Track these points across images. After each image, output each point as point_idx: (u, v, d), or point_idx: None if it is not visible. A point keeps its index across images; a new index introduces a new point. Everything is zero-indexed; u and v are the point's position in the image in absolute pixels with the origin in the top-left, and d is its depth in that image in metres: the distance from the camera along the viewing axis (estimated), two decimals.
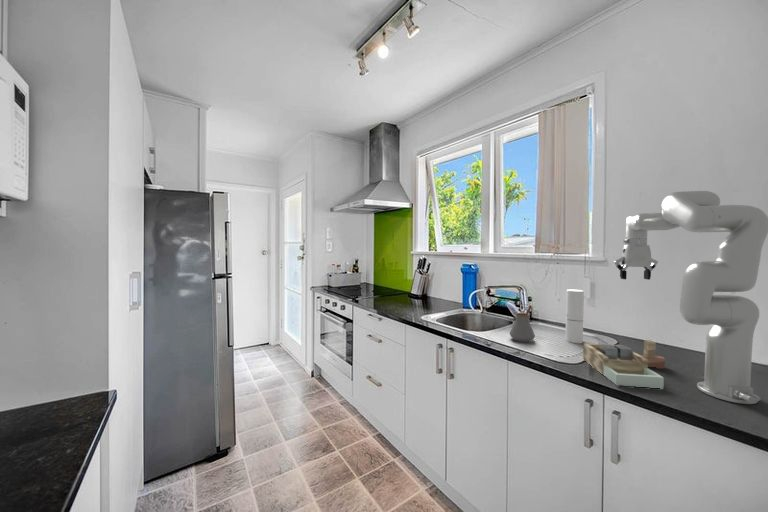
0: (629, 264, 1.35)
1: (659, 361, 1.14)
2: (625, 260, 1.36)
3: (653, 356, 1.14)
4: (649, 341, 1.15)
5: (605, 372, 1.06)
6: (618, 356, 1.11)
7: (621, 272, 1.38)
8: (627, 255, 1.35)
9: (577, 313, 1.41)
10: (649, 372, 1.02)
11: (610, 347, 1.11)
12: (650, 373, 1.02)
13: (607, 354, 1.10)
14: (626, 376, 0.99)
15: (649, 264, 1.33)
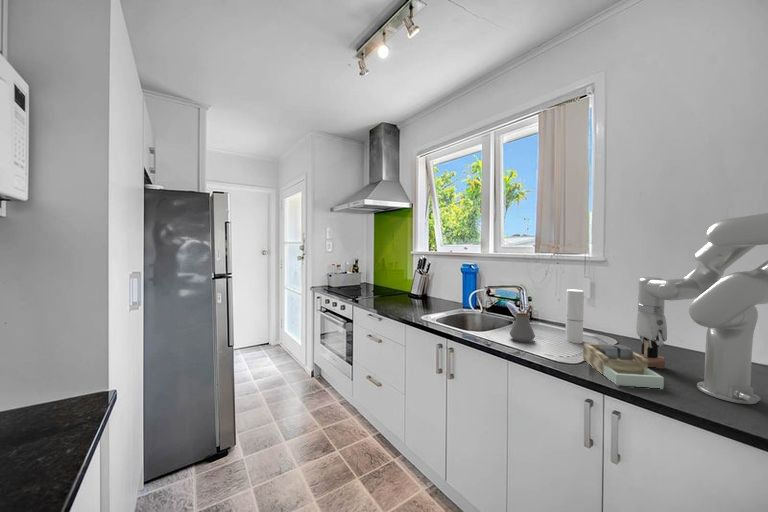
0: None
1: (659, 361, 1.14)
2: (663, 339, 1.10)
3: None
4: None
5: (605, 372, 1.06)
6: (618, 356, 1.11)
7: (654, 350, 1.13)
8: (666, 328, 1.10)
9: (577, 313, 1.41)
10: (649, 372, 1.02)
11: (610, 347, 1.11)
12: (650, 373, 1.02)
13: (607, 354, 1.10)
14: (626, 376, 0.99)
15: None
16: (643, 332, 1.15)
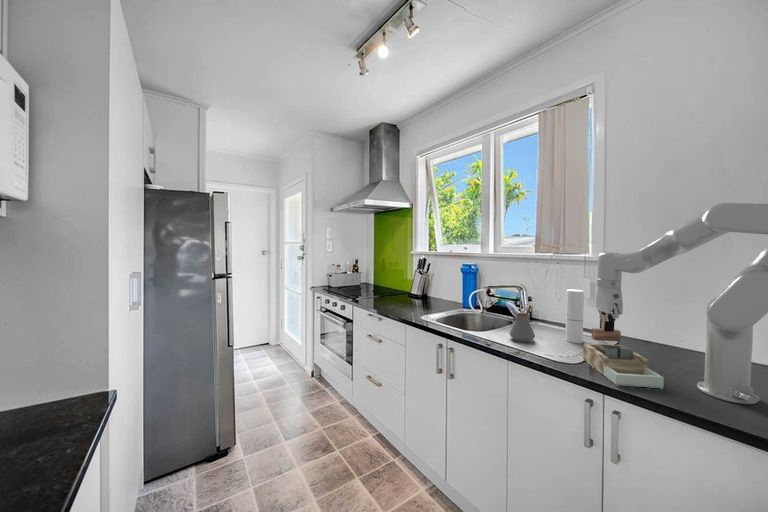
0: None
1: (615, 334, 1.16)
2: (618, 312, 1.12)
3: None
4: None
5: (605, 372, 1.06)
6: (618, 356, 1.11)
7: (611, 324, 1.14)
8: (622, 301, 1.11)
9: (577, 313, 1.41)
10: (649, 372, 1.02)
11: (610, 347, 1.11)
12: (650, 373, 1.02)
13: (607, 354, 1.10)
14: (626, 376, 0.99)
15: None
16: (601, 306, 1.17)
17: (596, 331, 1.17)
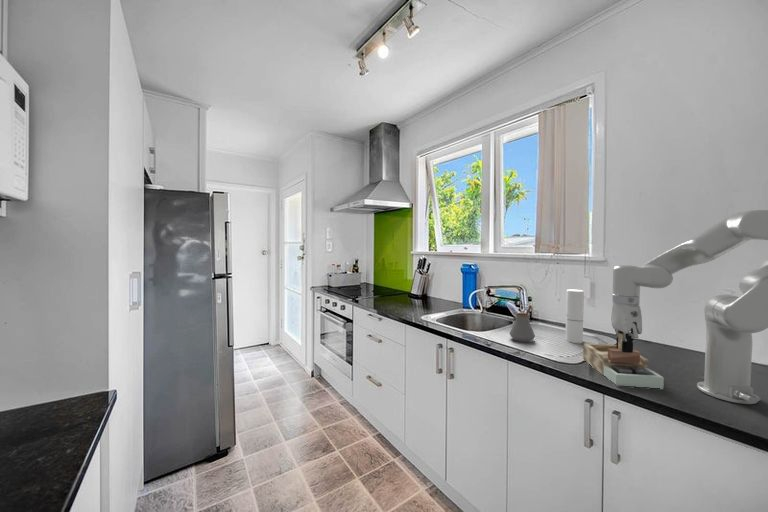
0: None
1: (634, 356, 1.05)
2: (638, 331, 1.02)
3: None
4: None
5: (605, 372, 1.06)
6: None
7: (629, 344, 1.04)
8: (641, 320, 1.01)
9: (577, 313, 1.41)
10: None
11: None
12: (650, 373, 1.02)
13: None
14: (626, 376, 0.99)
15: None
16: (618, 325, 1.07)
17: (613, 352, 1.06)
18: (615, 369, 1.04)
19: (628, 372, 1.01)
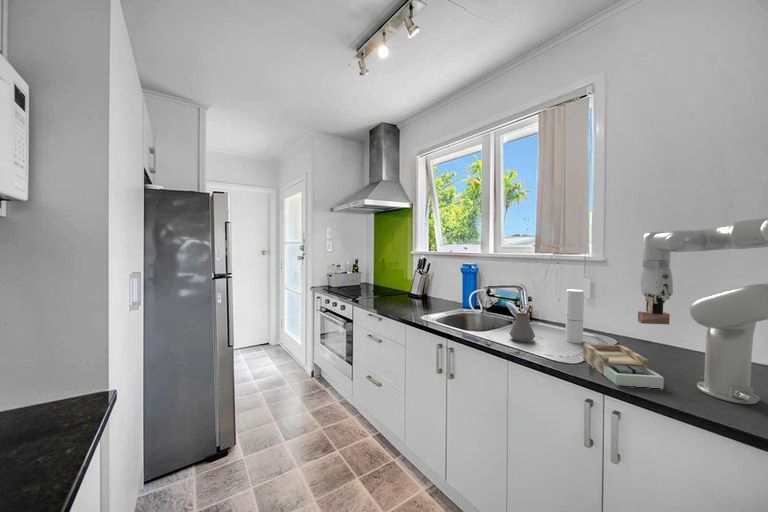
0: None
1: (663, 317, 1.11)
2: (668, 293, 1.08)
3: None
4: (653, 297, 1.12)
5: (605, 372, 1.06)
6: None
7: (660, 306, 1.10)
8: (672, 282, 1.07)
9: (577, 313, 1.41)
10: None
11: None
12: (650, 373, 1.02)
13: None
14: (626, 376, 0.99)
15: None
16: (648, 288, 1.12)
17: (643, 314, 1.12)
18: (615, 369, 1.04)
19: (628, 372, 1.01)
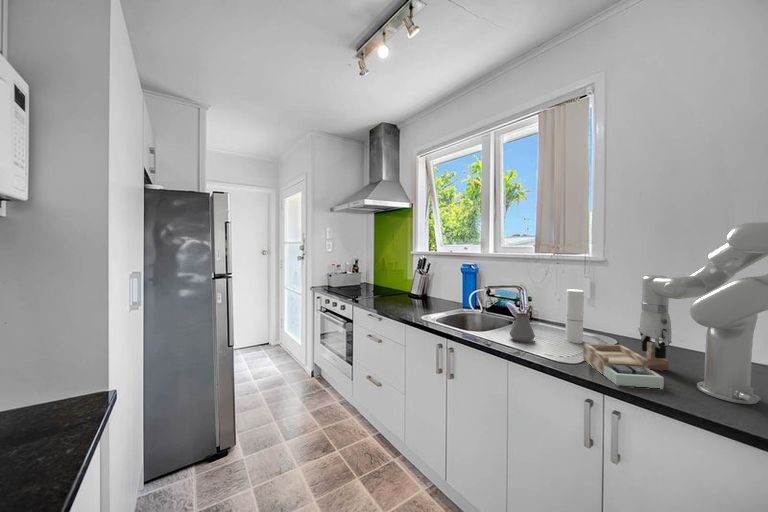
0: None
1: (662, 363, 1.12)
2: None
3: (656, 358, 1.12)
4: (652, 343, 1.13)
5: (605, 372, 1.06)
6: None
7: (662, 350, 1.09)
8: (670, 327, 1.08)
9: (577, 313, 1.41)
10: None
11: None
12: (650, 373, 1.02)
13: None
14: (626, 376, 0.99)
15: None
16: (647, 331, 1.13)
17: None
18: (615, 369, 1.04)
19: (628, 372, 1.01)
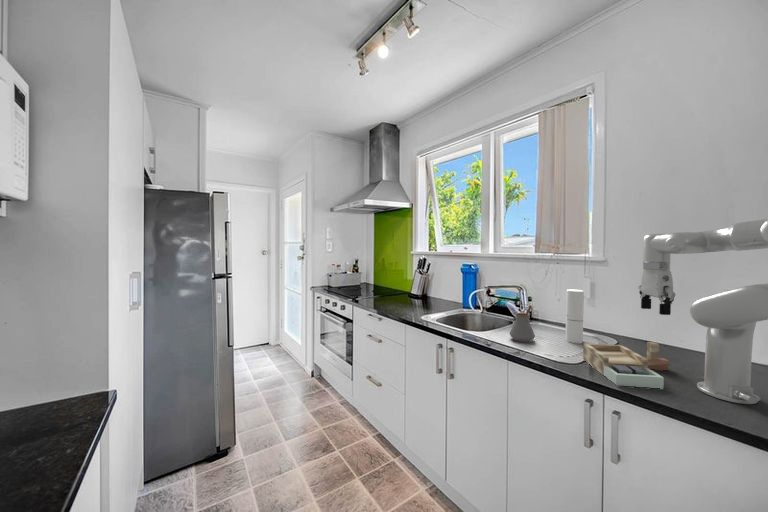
0: None
1: (662, 364, 1.12)
2: None
3: (656, 358, 1.12)
4: (652, 343, 1.13)
5: (605, 372, 1.06)
6: None
7: (667, 306, 1.06)
8: (672, 284, 1.07)
9: (577, 313, 1.41)
10: None
11: None
12: (650, 373, 1.02)
13: None
14: (626, 376, 0.99)
15: None
16: (648, 290, 1.12)
17: None
18: (615, 369, 1.04)
19: (628, 372, 1.01)
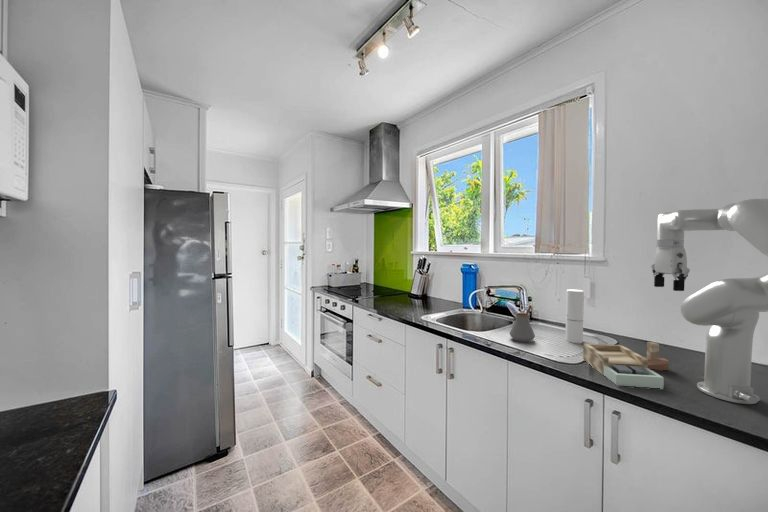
0: None
1: (662, 364, 1.12)
2: None
3: (656, 358, 1.12)
4: (652, 343, 1.13)
5: (605, 372, 1.06)
6: None
7: (681, 282, 1.09)
8: (686, 260, 1.09)
9: (577, 313, 1.41)
10: None
11: None
12: (650, 373, 1.02)
13: None
14: (626, 376, 0.99)
15: None
16: (662, 268, 1.15)
17: None
18: (615, 369, 1.04)
19: (628, 372, 1.01)
